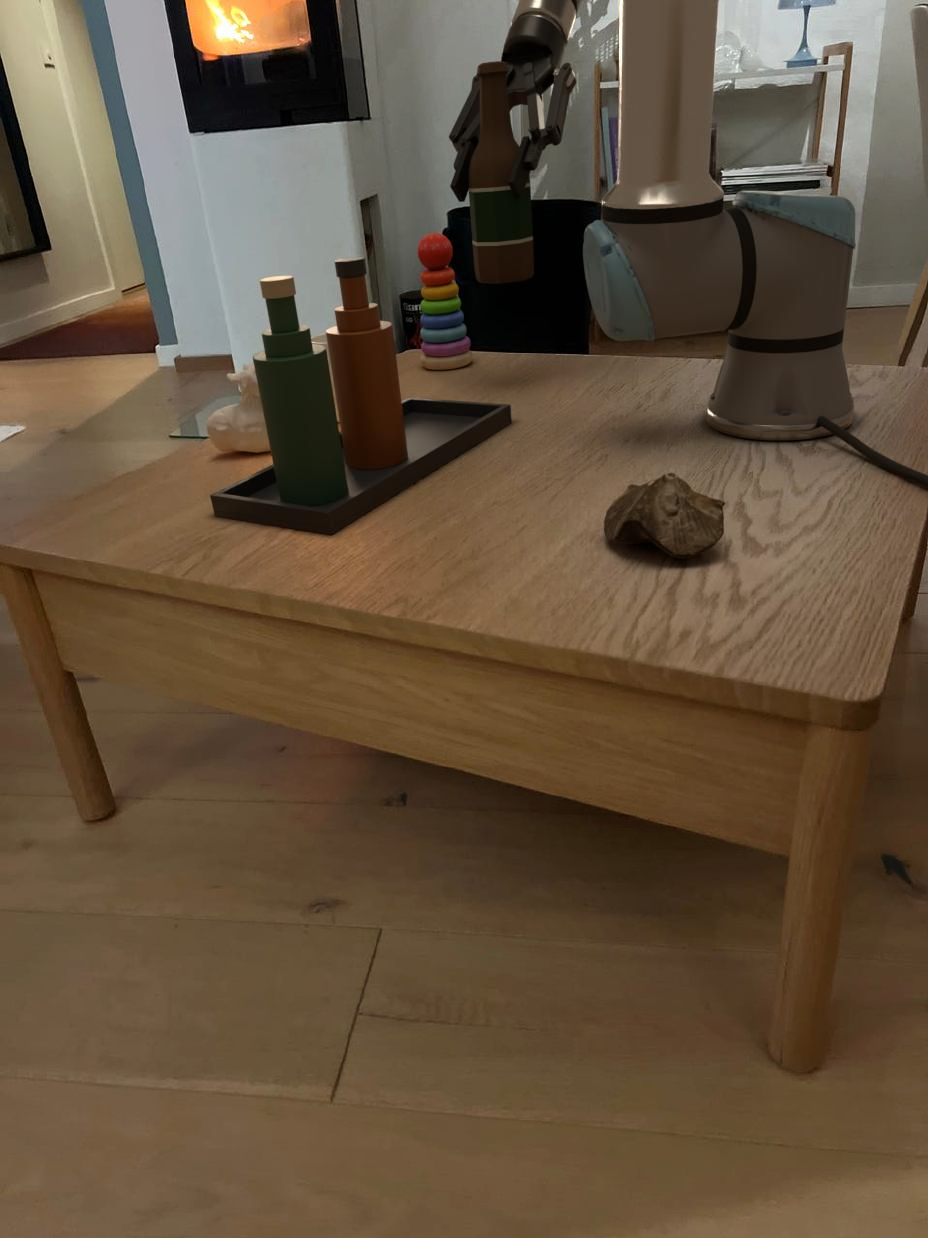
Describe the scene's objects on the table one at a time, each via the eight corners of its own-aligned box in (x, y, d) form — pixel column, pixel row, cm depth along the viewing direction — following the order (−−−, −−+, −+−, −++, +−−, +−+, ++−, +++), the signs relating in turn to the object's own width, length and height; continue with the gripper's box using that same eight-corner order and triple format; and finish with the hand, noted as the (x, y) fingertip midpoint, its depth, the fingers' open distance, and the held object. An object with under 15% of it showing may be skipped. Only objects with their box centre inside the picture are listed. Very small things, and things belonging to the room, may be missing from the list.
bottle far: (359, 494, 89) (326, 275, 80) (295, 512, 86) (253, 287, 77) (330, 477, 95) (297, 269, 85) (270, 494, 92) (227, 281, 82)
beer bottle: (530, 282, 113) (519, 56, 101) (469, 285, 114) (452, 64, 103) (538, 272, 119) (529, 60, 108) (480, 276, 121) (465, 67, 110)
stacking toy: (419, 362, 142) (405, 232, 133) (470, 356, 142) (459, 227, 133) (423, 373, 135) (408, 238, 126) (476, 367, 135) (465, 232, 126)
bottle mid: (419, 459, 97) (396, 256, 88) (362, 474, 94) (332, 266, 85) (390, 445, 103) (365, 252, 93) (335, 459, 100) (304, 262, 90)
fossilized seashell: (752, 518, 71) (664, 504, 80) (714, 458, 68) (627, 450, 76) (696, 589, 70) (613, 568, 78) (655, 531, 66) (572, 515, 75)
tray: (410, 414, 116) (408, 397, 114) (511, 422, 109) (510, 404, 108) (214, 516, 89) (209, 495, 88) (331, 535, 82) (327, 512, 81)
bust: (220, 479, 106) (225, 415, 97) (194, 430, 108) (196, 363, 99) (312, 454, 112) (325, 391, 102) (285, 408, 114) (296, 342, 104)
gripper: (621, 53, 112) (571, 209, 108) (480, 72, 122) (429, 217, 118) (604, -1, 106) (550, 163, 101) (456, 24, 115) (401, 175, 111)
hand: (485, 191), depth 109 cm, fingers closed on beer bottle, 7 cm apart
